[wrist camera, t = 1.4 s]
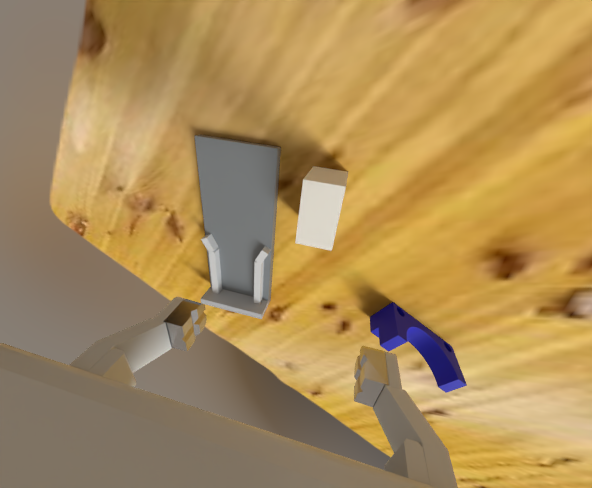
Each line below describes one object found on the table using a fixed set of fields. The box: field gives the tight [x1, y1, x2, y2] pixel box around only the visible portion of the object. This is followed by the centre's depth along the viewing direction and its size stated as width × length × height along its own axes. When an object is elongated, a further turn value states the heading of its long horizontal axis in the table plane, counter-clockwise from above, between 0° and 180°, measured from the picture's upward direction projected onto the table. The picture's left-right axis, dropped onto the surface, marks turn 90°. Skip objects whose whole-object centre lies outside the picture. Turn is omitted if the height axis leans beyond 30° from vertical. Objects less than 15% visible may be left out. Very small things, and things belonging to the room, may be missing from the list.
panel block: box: [295, 166, 348, 251], centre depth 26 cm, size 7×4×6 cm, turn 174°
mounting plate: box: [195, 135, 281, 319], centre depth 32 cm, size 24×10×4 cm, turn 174°
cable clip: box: [370, 302, 466, 392], centre depth 34 cm, size 12×4×6 cm, turn 55°
